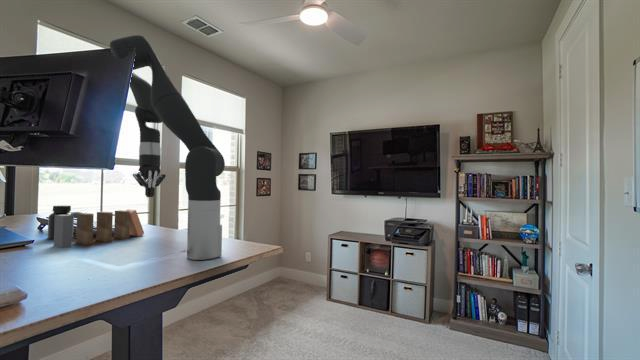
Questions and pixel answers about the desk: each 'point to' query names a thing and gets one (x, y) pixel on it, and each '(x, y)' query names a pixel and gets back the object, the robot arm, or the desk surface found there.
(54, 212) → the supplement bottle
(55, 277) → the desk surface
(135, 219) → the domino
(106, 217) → the domino
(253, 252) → the desk surface
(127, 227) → the domino
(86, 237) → the domino
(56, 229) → the end domino
